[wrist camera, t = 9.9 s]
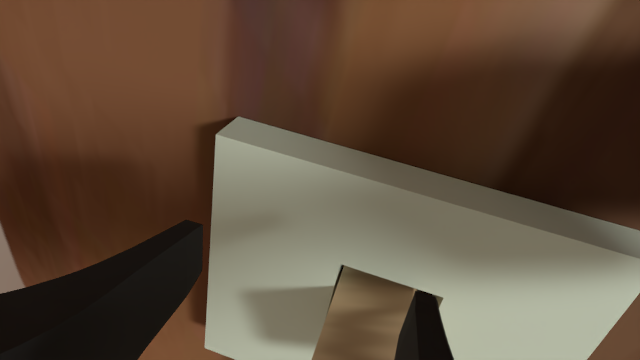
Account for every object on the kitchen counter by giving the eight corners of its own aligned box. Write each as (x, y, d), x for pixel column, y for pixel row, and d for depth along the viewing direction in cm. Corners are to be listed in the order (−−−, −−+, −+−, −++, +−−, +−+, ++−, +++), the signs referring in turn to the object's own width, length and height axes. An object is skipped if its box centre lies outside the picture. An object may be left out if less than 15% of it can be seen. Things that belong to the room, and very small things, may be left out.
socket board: (639, 230, 20) (661, 265, 18) (502, 421, 28) (506, 460, 26) (238, 116, 23) (215, 134, 21) (221, 320, 31) (204, 348, 29)
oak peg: (417, 259, 24) (401, 383, 17) (421, 313, 26) (408, 445, 19) (347, 256, 25) (307, 371, 18) (355, 308, 27) (321, 430, 20)
